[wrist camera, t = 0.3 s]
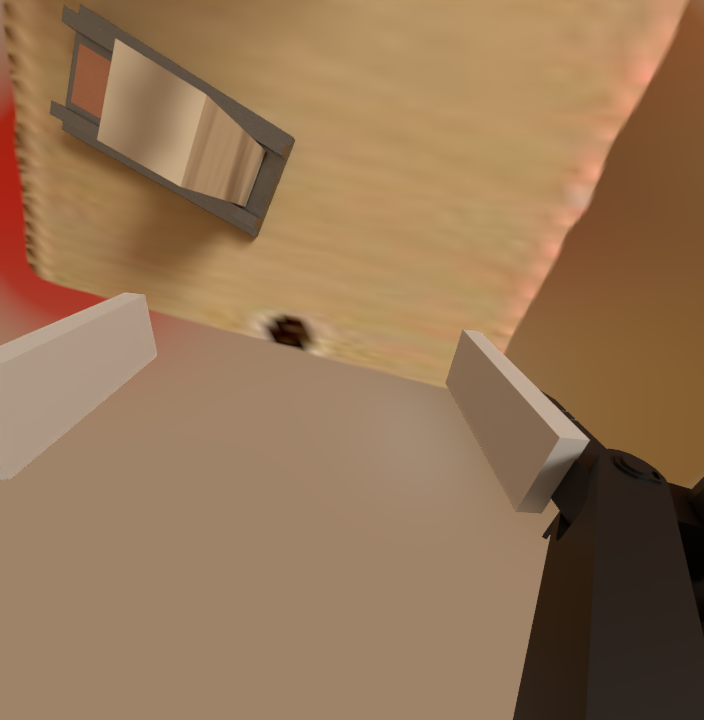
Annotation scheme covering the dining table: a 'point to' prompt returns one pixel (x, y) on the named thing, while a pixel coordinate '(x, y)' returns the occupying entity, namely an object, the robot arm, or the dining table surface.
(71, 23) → the guide track
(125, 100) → the birch block
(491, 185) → the dining table surface
